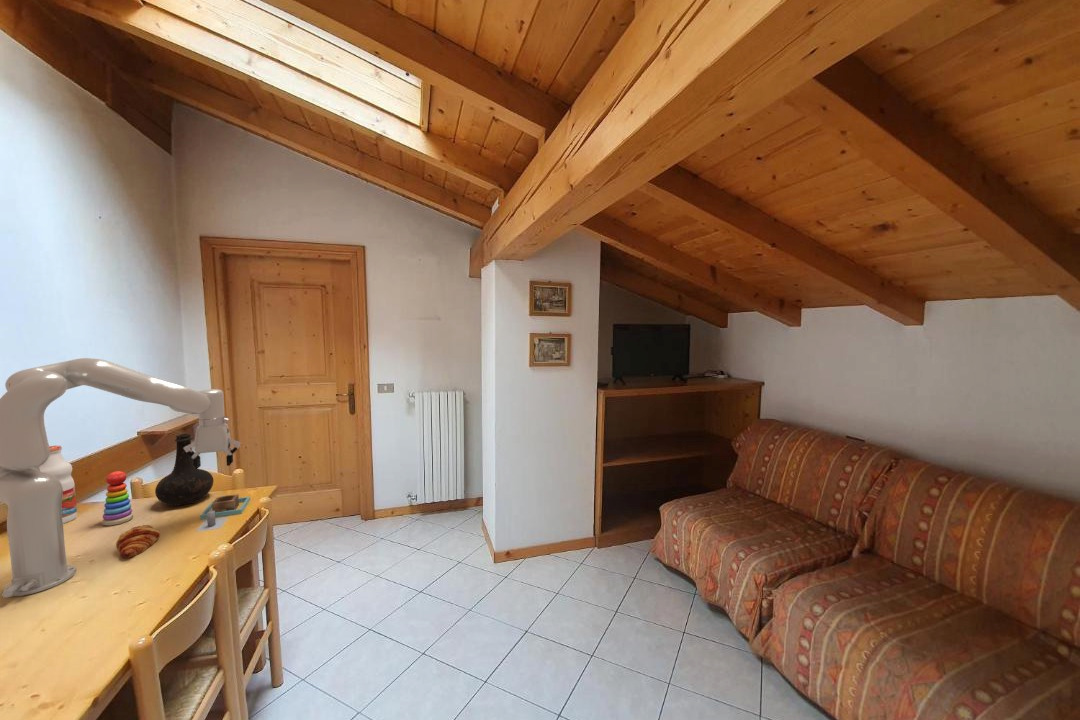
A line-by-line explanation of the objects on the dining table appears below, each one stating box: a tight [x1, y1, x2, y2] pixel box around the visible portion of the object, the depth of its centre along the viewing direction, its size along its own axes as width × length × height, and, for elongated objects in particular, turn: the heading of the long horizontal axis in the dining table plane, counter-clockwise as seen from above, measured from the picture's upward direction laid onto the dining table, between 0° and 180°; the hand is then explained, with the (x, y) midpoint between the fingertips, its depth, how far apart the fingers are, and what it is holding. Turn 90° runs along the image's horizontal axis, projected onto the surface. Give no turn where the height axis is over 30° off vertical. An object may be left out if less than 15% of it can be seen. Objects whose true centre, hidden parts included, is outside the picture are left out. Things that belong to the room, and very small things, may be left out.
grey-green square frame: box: [199, 496, 251, 521], centre depth 156 cm, size 13×13×2 cm
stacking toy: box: [101, 470, 134, 526], centre depth 147 cm, size 8×8×19 cm
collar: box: [211, 493, 240, 513], centre depth 155 cm, size 7×8×4 cm
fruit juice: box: [39, 445, 78, 524], centre depth 146 cm, size 9×9×28 cm
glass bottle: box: [154, 433, 214, 506], centre depth 164 cm, size 18×18×28 cm
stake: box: [195, 510, 229, 533], centre depth 145 cm, size 9×7×6 cm
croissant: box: [115, 524, 161, 559], centre depth 131 cm, size 21×10×8 cm, turn 34°
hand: (213, 466), depth 152 cm, fingers open, 9 cm apart
